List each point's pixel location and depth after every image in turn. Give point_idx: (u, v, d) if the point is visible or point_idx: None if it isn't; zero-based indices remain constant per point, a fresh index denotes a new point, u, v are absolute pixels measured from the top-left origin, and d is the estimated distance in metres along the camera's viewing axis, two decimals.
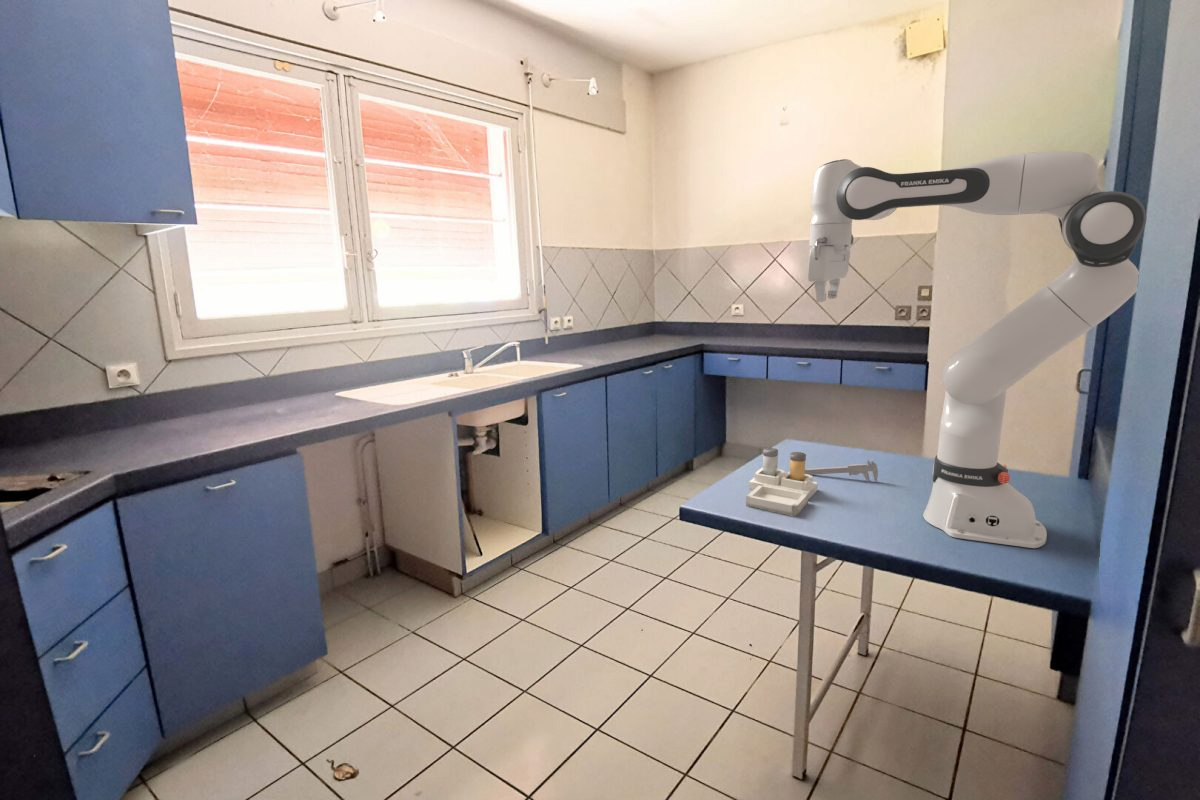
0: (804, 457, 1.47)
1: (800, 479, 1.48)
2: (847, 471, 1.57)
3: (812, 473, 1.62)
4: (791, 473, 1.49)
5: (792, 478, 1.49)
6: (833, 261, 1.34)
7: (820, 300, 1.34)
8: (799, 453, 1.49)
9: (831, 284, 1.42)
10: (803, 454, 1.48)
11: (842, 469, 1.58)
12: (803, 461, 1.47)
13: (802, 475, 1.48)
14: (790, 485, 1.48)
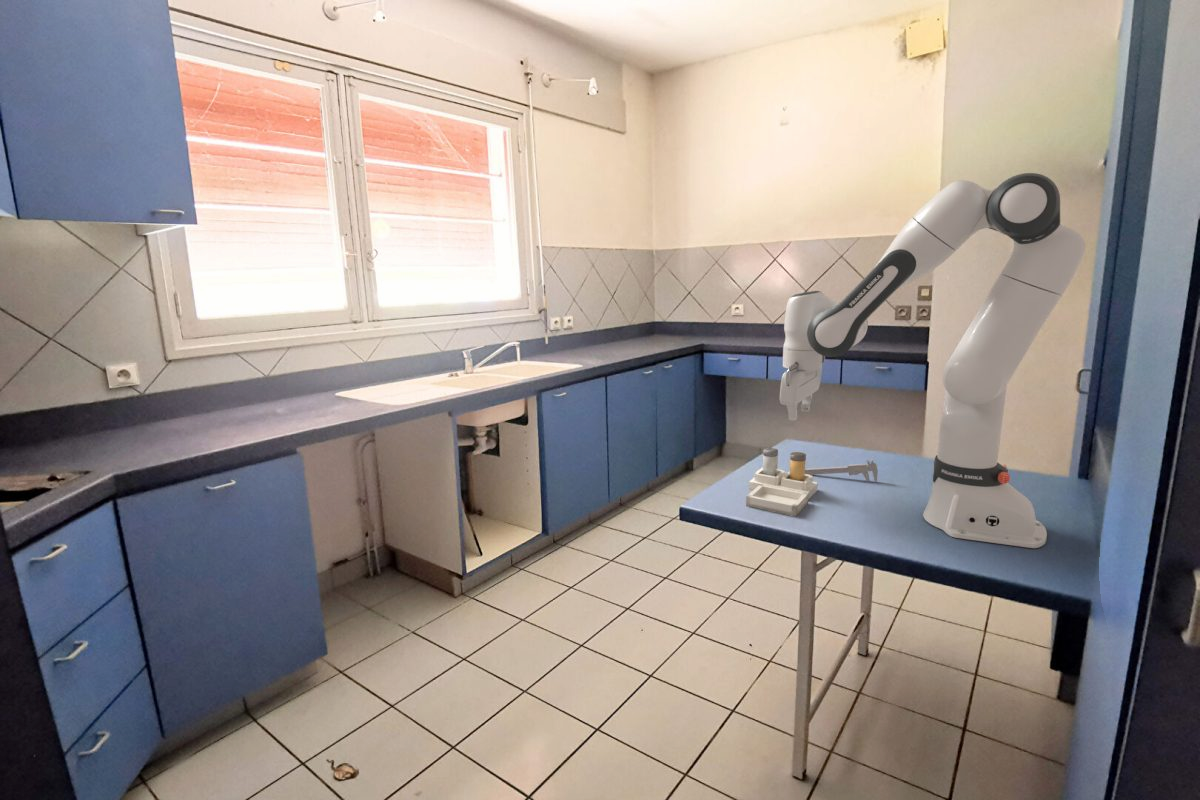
0: (804, 457, 1.47)
1: (800, 479, 1.48)
2: (847, 471, 1.57)
3: (812, 473, 1.62)
4: (791, 473, 1.49)
5: (792, 478, 1.49)
6: (804, 383, 1.42)
7: (792, 419, 1.42)
8: (799, 453, 1.49)
9: None
10: (803, 454, 1.48)
11: (842, 469, 1.58)
12: (803, 461, 1.47)
13: (802, 475, 1.48)
14: (790, 485, 1.48)
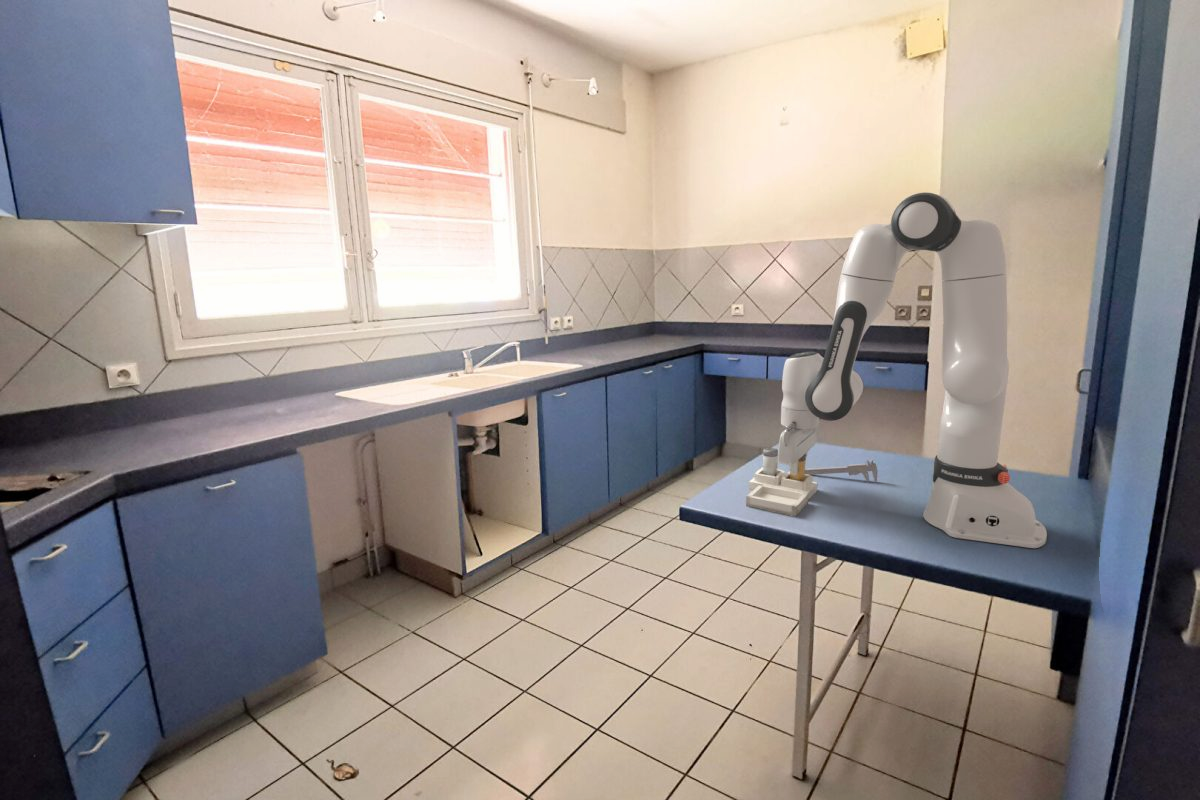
0: (804, 457, 1.47)
1: (800, 479, 1.48)
2: (847, 471, 1.57)
3: (812, 473, 1.62)
4: None
5: (792, 478, 1.49)
6: (802, 440, 1.45)
7: (793, 473, 1.47)
8: None
9: None
10: None
11: (842, 469, 1.58)
12: (803, 461, 1.47)
13: (802, 475, 1.48)
14: (790, 485, 1.48)
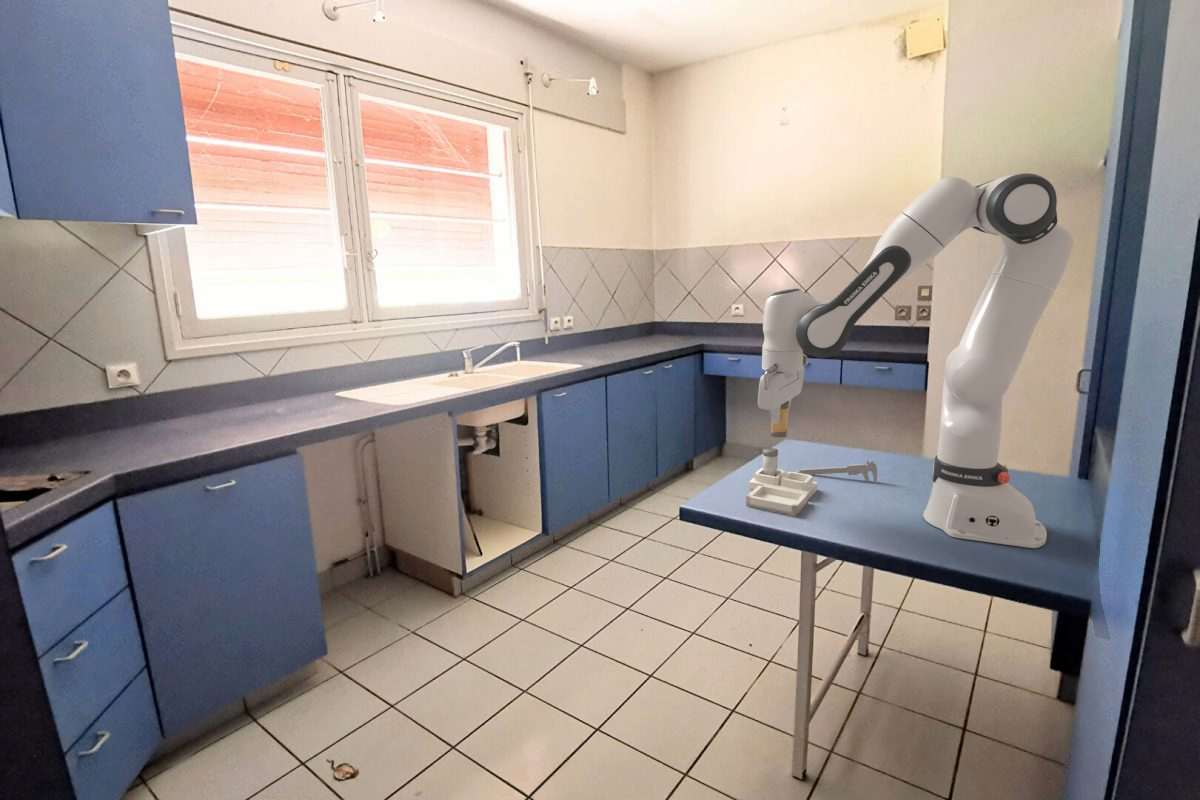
0: (787, 404, 1.37)
1: (782, 428, 1.38)
2: (846, 471, 1.57)
3: (811, 473, 1.62)
4: None
5: (773, 427, 1.39)
6: (785, 386, 1.35)
7: (775, 422, 1.37)
8: None
9: None
10: (786, 402, 1.38)
11: (841, 469, 1.58)
12: (785, 409, 1.37)
13: (784, 424, 1.38)
14: (790, 485, 1.48)
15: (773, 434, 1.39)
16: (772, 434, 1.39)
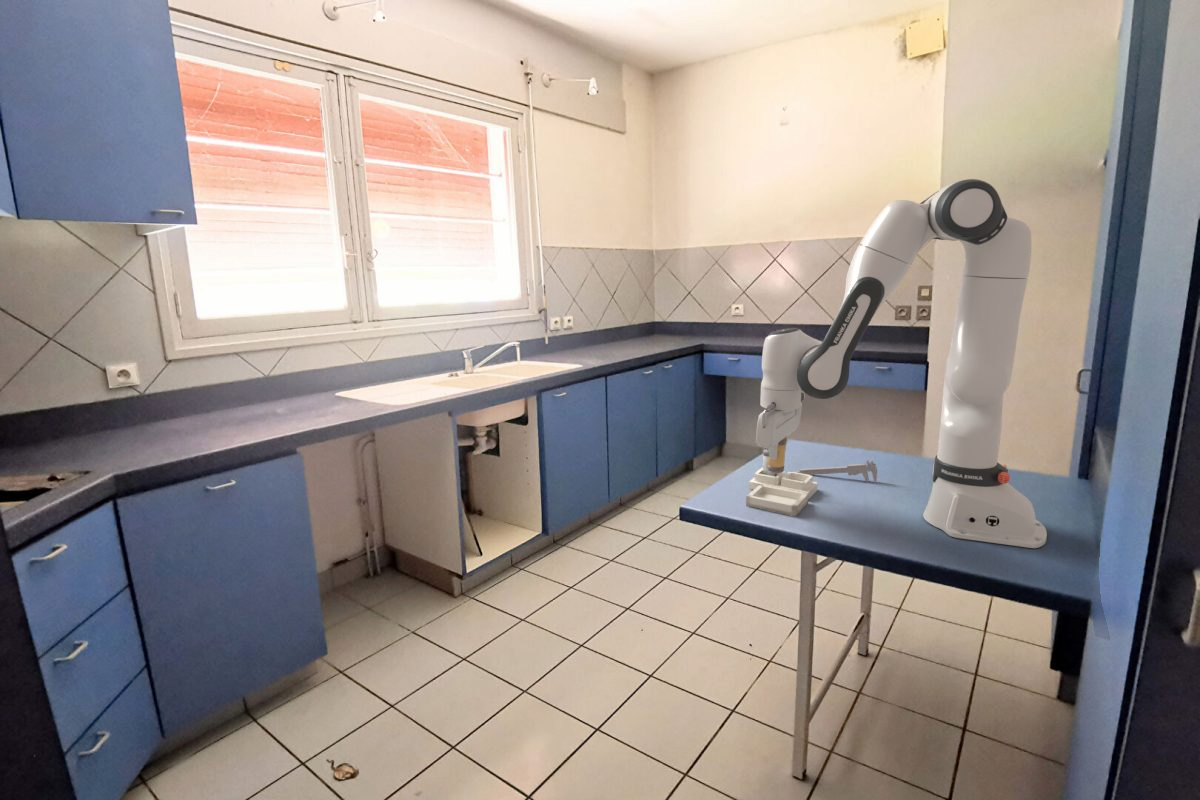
0: (784, 441, 1.39)
1: (779, 464, 1.40)
2: (846, 471, 1.57)
3: (811, 473, 1.62)
4: None
5: (771, 463, 1.41)
6: (782, 423, 1.37)
7: (773, 458, 1.39)
8: None
9: None
10: None
11: (841, 469, 1.58)
12: (783, 445, 1.39)
13: (781, 460, 1.40)
14: (790, 485, 1.48)
15: (771, 469, 1.41)
16: (769, 469, 1.41)
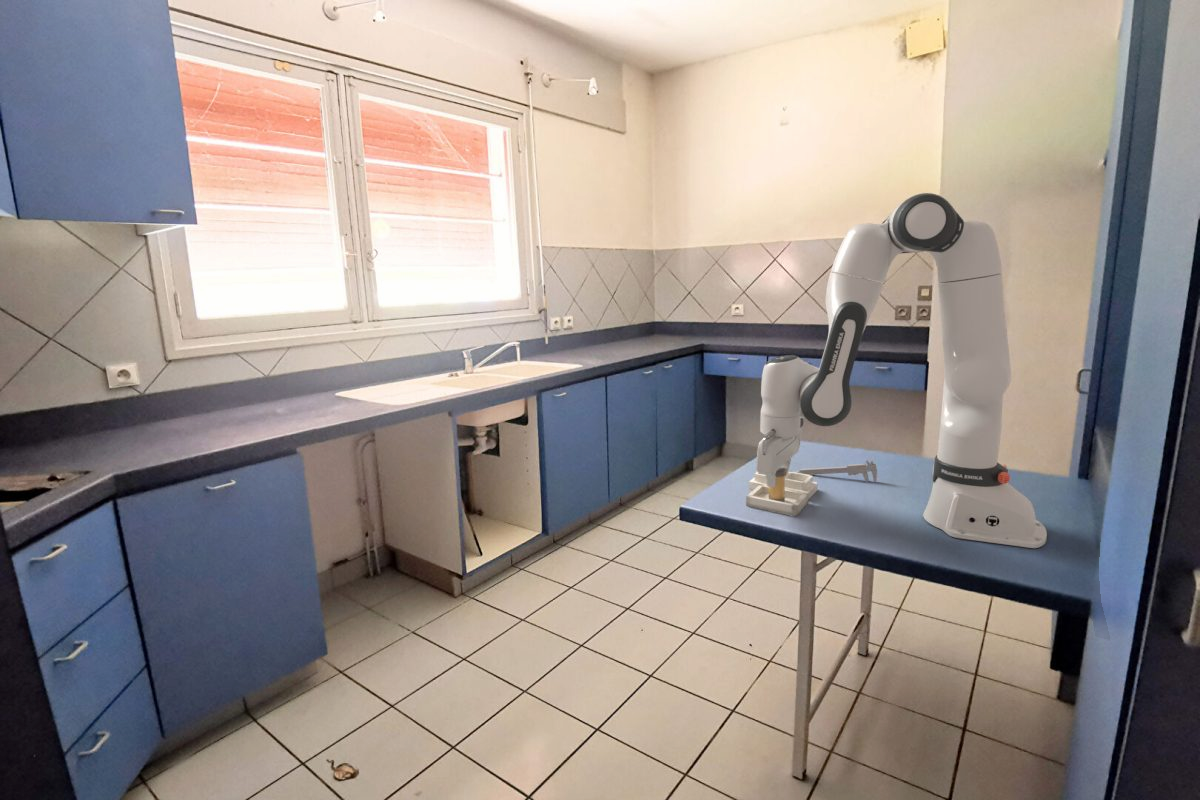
0: (783, 472, 1.41)
1: (779, 495, 1.42)
2: (846, 471, 1.57)
3: (811, 473, 1.62)
4: (770, 489, 1.43)
5: (771, 494, 1.43)
6: (782, 449, 1.38)
7: (771, 486, 1.39)
8: None
9: None
10: (782, 469, 1.42)
11: (841, 469, 1.58)
12: (782, 476, 1.41)
13: (781, 491, 1.42)
14: (790, 485, 1.48)
15: None
16: None
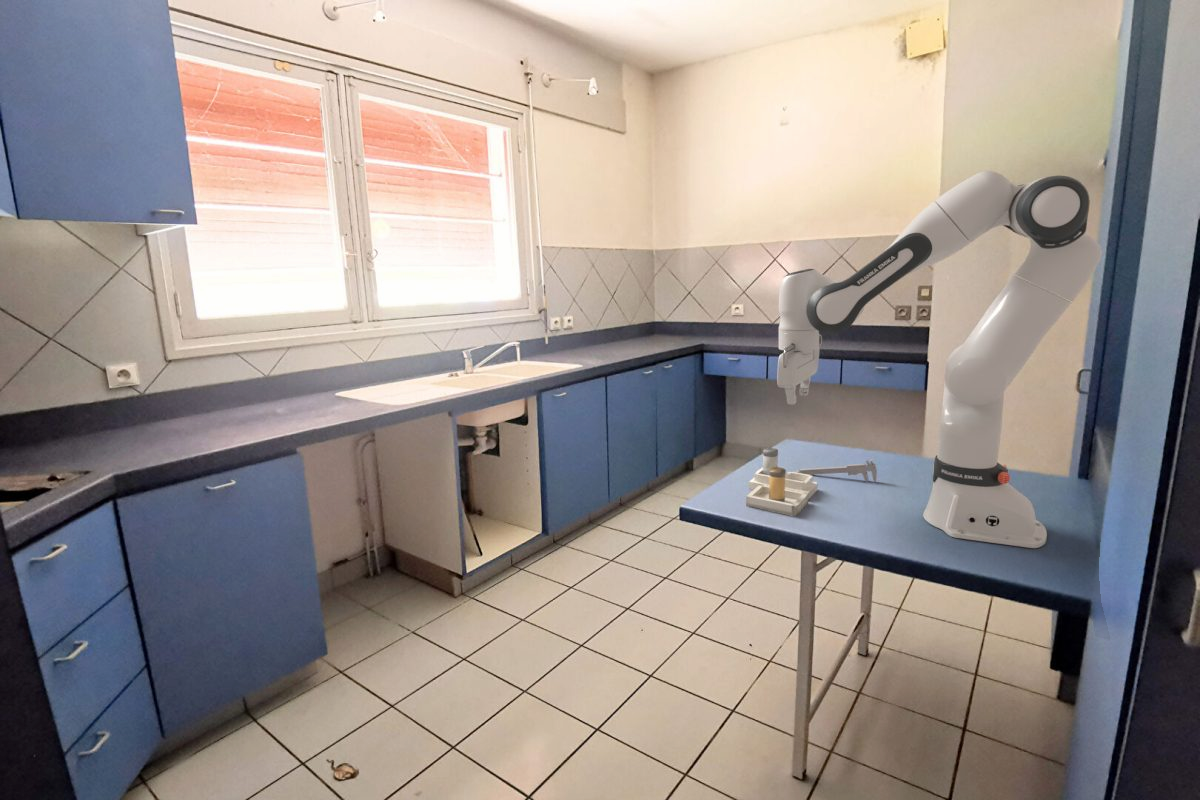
0: (784, 473, 1.41)
1: (780, 496, 1.42)
2: (846, 471, 1.57)
3: (811, 473, 1.62)
4: (770, 489, 1.43)
5: (771, 495, 1.42)
6: (802, 364, 1.37)
7: (791, 403, 1.37)
8: (779, 468, 1.43)
9: (802, 381, 1.46)
10: (783, 470, 1.42)
11: (841, 469, 1.58)
12: (783, 477, 1.41)
13: (782, 492, 1.42)
14: (790, 485, 1.48)
15: None
16: None
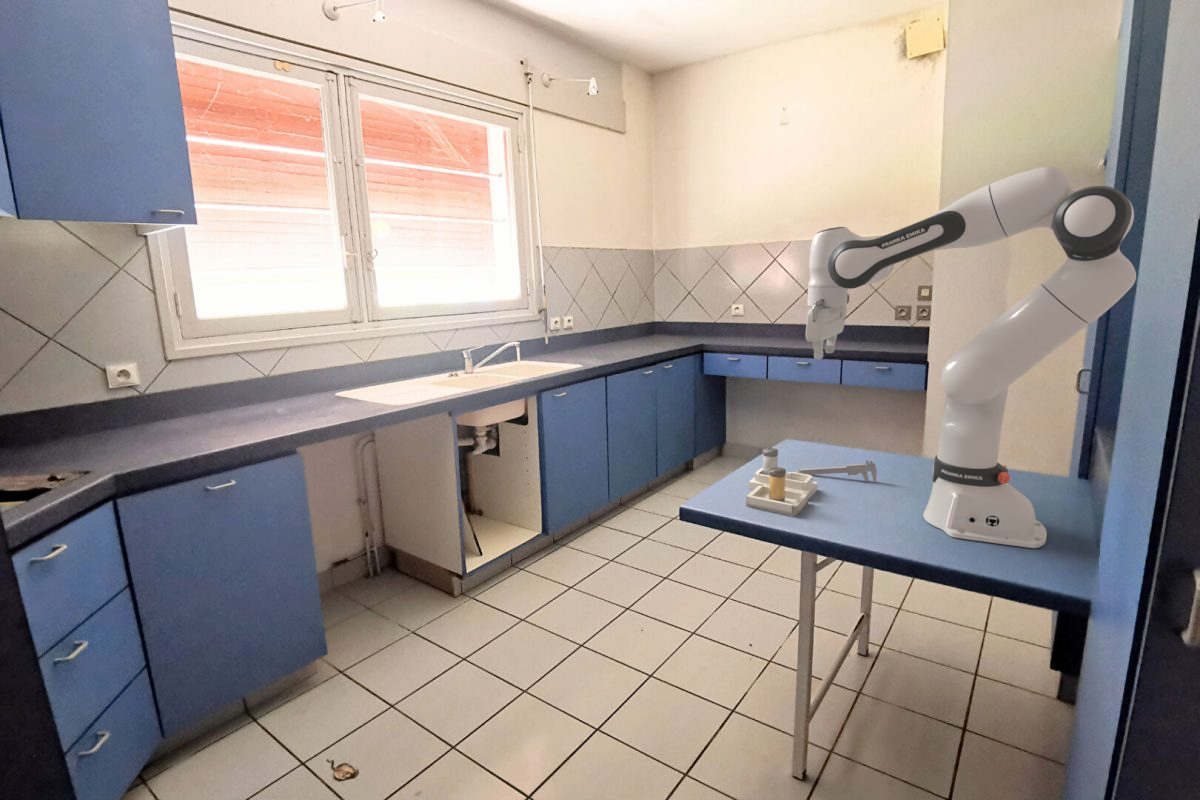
0: (784, 473, 1.41)
1: (780, 496, 1.42)
2: (846, 471, 1.57)
3: (811, 473, 1.62)
4: (770, 489, 1.43)
5: (771, 495, 1.42)
6: (830, 321, 1.41)
7: (817, 358, 1.41)
8: (779, 468, 1.43)
9: (828, 339, 1.50)
10: (783, 470, 1.42)
11: (841, 469, 1.58)
12: (783, 477, 1.41)
13: (782, 492, 1.42)
14: (790, 485, 1.48)
15: None
16: None
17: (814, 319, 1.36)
